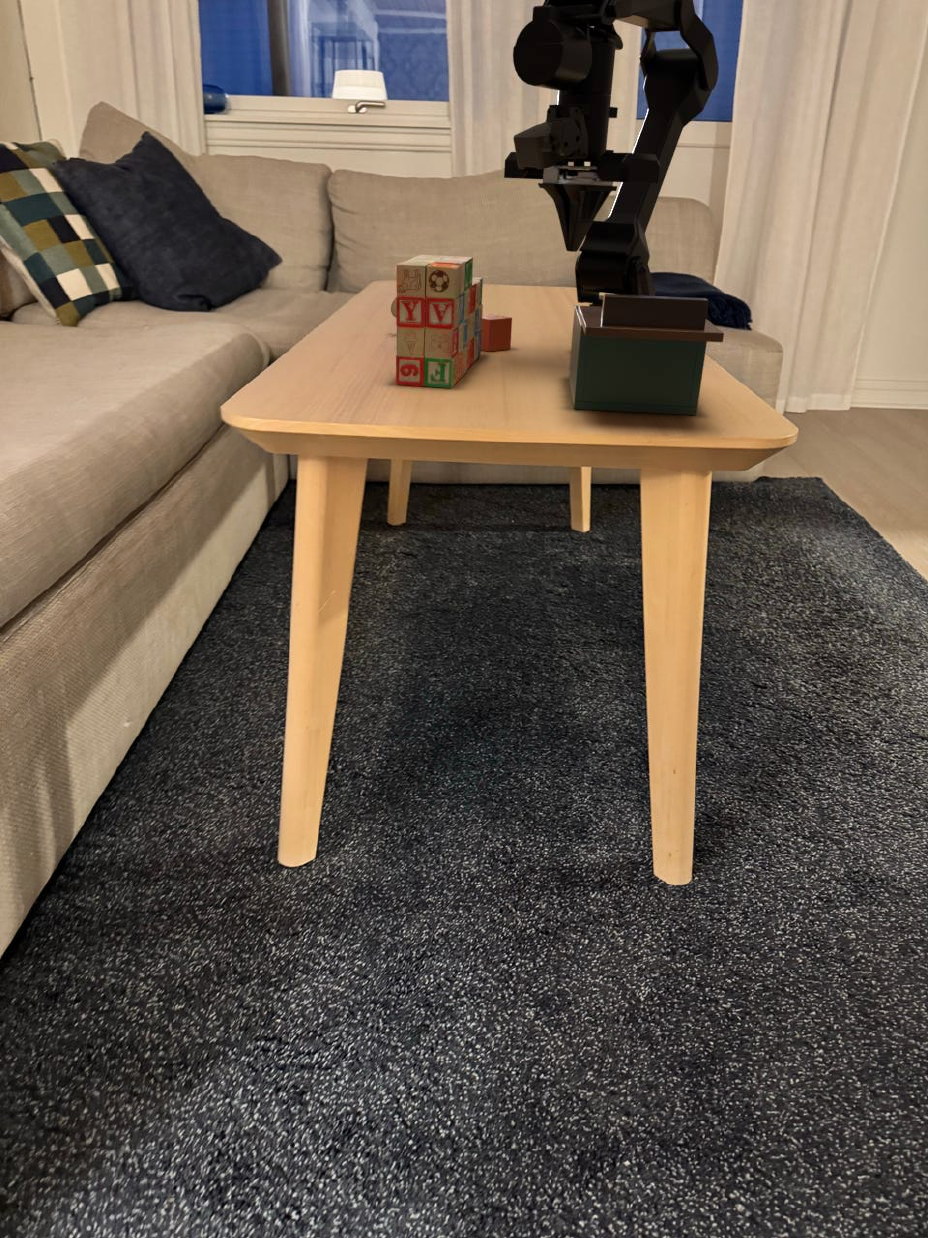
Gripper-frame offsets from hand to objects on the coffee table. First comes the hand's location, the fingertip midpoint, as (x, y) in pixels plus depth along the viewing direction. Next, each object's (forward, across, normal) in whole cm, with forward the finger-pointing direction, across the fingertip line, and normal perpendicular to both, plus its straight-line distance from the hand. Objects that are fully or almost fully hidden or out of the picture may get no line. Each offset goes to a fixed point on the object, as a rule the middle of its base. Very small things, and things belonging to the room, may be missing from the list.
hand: (571, 251), depth 104 cm
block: (+13, -14, +1) cm, 19 cm away
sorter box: (+13, +15, -6) cm, 21 cm away
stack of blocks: (+13, -6, -14) cm, 20 cm away
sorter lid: (+5, +20, -11) cm, 24 cm away
